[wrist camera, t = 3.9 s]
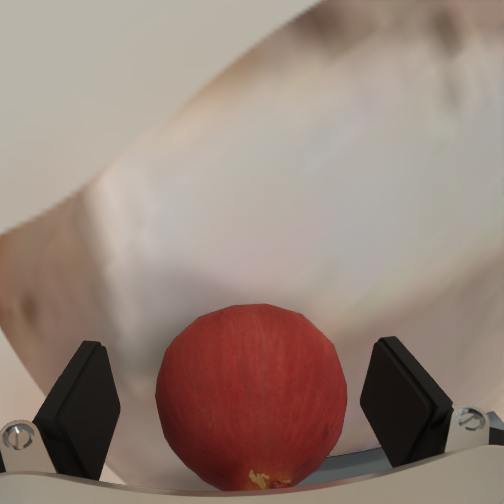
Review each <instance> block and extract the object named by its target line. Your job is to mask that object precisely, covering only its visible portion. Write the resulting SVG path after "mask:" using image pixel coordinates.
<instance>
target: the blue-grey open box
mask: <svg viewBox="0 0 504 504" xmlns="http://www.w3.org/2000/svg"><path fill="white" fill-rule="evenodd" d="M487 416H488V418H489V422H490V427H493V428H497V429H501V430H504V423H503V422H502V420H501V419H500V418H499V417H498V416H497V415H496V413H495V412H494V411H493V412H491V413H488V414H487ZM391 468H392V466H391V464H390V462H389V460H388V458H387V456H386V454H385V452H384V450H383V449H382V448H378V449H373V450H368V451H363V452H358V453H353V454H348V455H342V456H336V457H329V458H326V459H325V461H324V462H323V463H322V465H321V466H320V467H319V469H317V470H316V471H315V472H313V473H312V474H311V475H309V476H308V477H307V478H305V479H304V480H303V481H301V482H300V483H299V484H297V485H295V486H294V487H298V486H306V485H313V484H320V483H326V482H332V481H338V480H343V479H349V478H354V477H358V476H363V475H367V474H372V473H376V472H380V471H384V470H388V469H391Z"/></svg>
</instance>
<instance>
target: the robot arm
mask: <svg viewBox="0 0 504 504" xmlns="http://www.w3.org/2000/svg"><path fill="white" fill-rule="evenodd" d="M452 404H453V402H452V401H451V400H450V398H449V397H448V396H447V395H446V394H445V392H444V391H443V390H442V389H441V388H440V387H439V385H438V384H437V383H436V382H435V381H434V379H433V378H432V377H431V376H430V375H429V374H428V372H427V371H426V370H425V369H424V368H423V367H422V366H421V364H420V363H419V362H418V361H417V360H416V359H415V357H414V356H413V355H412V354H411V353H410V352H409V351H408V350H407V348H406V347H405V346H404V345H403V344H402V343H401V342H400V340H399V339H398V338H397V337H395V336H391V337H382V338H380V339H379V340H378V342H376V343H375V344H374V347H373V351H372V355H371V359H370V363H369V367H368V371H367V375H366V379H365V383H364V386H363V390H362V393H361V397H360V405H361V408H362V410H363V412H364V414H365V416H366V418H367V419H368V421H369V423H370V425H371V427H372V429H373V431H374V433H375V435H376V437H377V439H378V441H379V443H380V445H381V447H382V449H383V450H384V452H385V454H386V456H387V458H388V460H389V462H390V464H391V466H392V468H391V469H388V470H384V471H380V472H376V473H372V474H367V475H363V476H358V477H354V478H349V479H343V480H338V481H332V482H326V483H320V484H313V485H306V486H298V487H290V488H280V489H268V490H252V491H183V490H167V489H155V488H146V487H137V486H129V485H122V484H114V483H108V482H102V481H99V479H100V475H101V472H102V469H103V465H104V462H105V459H106V455H107V452H108V449H109V446H110V442H111V439H112V436H113V433H114V430H115V427H116V424H117V421H118V418H119V415H120V402H119V398H118V395H117V391H116V387H115V383H114V379H113V375H112V371H111V367H110V363H109V359H108V354H107V350H106V347H105V346H102V345H101V343H100V342H96V341H83V342H82V344H81V345H80V347H79V348H78V350H77V351H76V353H75V354H74V356H73V357H72V359H71V360H70V362H69V364H68V365H67V367H66V368H65V370H64V371H63V373H62V375H61V376H60V377H59V378H58V380H57V382H56V383H55V385H54V386H53V388H52V390H51V391H50V393H49V394H48V396H47V398H46V399H45V401H44V403H43V404H42V406H41V408H40V409H39V411H38V413H37V415H36V416H35V418H34V420H33V421H32V422H29V421H27V420H15V421H12V422H10V423H8V424H6V425H5V426H4V427H3V428H2V429H1V431H0V504H504V430H501V429H497V428H493V427H490V422H489V418H488V416H487V414H486V413H485V412H484V411H483V410H481V409H479V408H478V407H475V406H471V405H463V406H460V407H457V408H456V409H455V410H454V409H453V408H452Z"/></svg>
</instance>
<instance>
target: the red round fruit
mask: <svg viewBox="0 0 504 504" xmlns="http://www.w3.org/2000/svg"><path fill="white" fill-rule="evenodd" d="M155 397H156V403H157V408H158V413H159V417H160V421H161V425H162V429H163V433H164V437H165V439H166V440H167V442H168V444H169V445H170V447H171V449H172V450H173V451H174V452H175V454H176V455H177V456H178V457H179V458H180V459H181V460H182V462H183V463H184V464H185V465H186V466H187V467H188V468H190V469H191V470H192V471H193V472H195V473H196V474H197V475H198V476H199V477H200V478H201V479H202V480H203V481H205V482H206V483H208V484H210V485H212V486H214V487H216V488H218V489H220V490H222V491H252V490H268V489H280V488H290V487H294V486H295V485H297V484H299V483H300V482H301V481H303V480H304V479H305V478H307V477H308V476H309V475H311V474H312V473H313V472H315V471H316V470H317V469H319V467H320V466H321V465H322V463H323V462H324V461H325V459H326V458H327V456H328V455H329V453H330V452H331V451H332V449H333V448H334V446H335V445H336V443H337V441H338V439H339V437H340V435H341V433H342V428H343V422H344V417H345V411H346V405H347V384H346V381H345V377H344V374H343V371H342V368H341V364H340V361H339V358H338V356H337V353H336V350H335V347H334V345H333V344H332V343H331V342H330V341H329V340H328V339H327V337H326V336H325V335H324V334H323V333H322V332H321V331H319V330H318V329H317V328H316V327H315V326H314V325H313V324H312V323H311V322H310V321H309V320H307V319H306V318H305V317H304V316H303V315H302V314H299V313H296V312H292V311H289V310H286V309H282V308H279V307H276V306H273V305H269V304H251V305H234V306H230V307H227V308H224V309H221V310H218V311H215V312H212V313H209V314H206V315H203V316H201V317H199V318H197V319H196V320H195V321H194V322H193V323H192V324H191V325H189V326H188V327H187V328H186V329H185V330H184V331H183V332H181V333H180V334H179V335H178V336H177V337H176V338H175V339H174V341H173V342H172V343H171V344H170V346H169V347H168V348H167V350H166V352H165V355H164V358H163V362H162V365H161V368H160V371H159V374H158V378H157V384H156V393H155Z"/></svg>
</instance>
